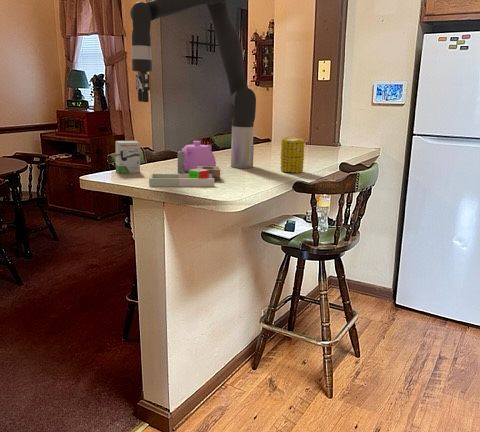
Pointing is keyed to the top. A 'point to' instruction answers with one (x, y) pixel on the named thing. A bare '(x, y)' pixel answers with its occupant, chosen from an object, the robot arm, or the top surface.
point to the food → (292, 155)
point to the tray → (163, 180)
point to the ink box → (127, 156)
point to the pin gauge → (180, 162)
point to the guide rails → (195, 180)
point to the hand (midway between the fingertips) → (143, 101)
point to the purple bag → (197, 156)
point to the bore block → (212, 171)
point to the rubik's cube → (198, 173)
